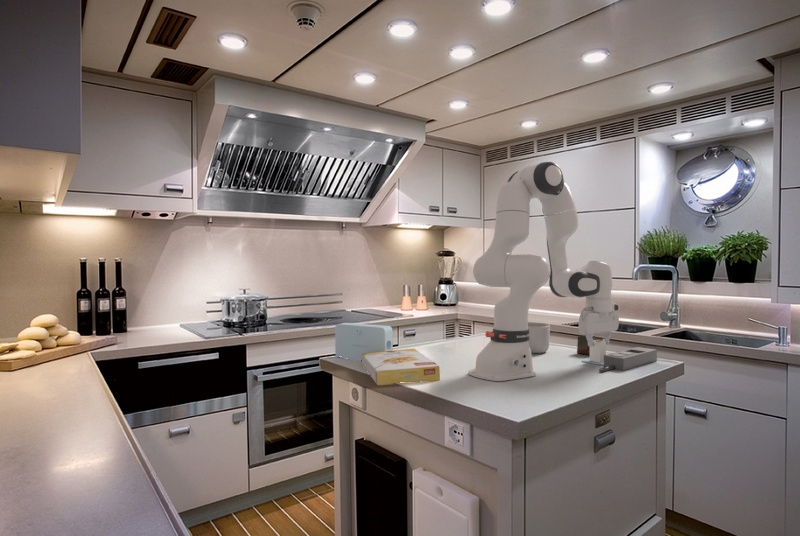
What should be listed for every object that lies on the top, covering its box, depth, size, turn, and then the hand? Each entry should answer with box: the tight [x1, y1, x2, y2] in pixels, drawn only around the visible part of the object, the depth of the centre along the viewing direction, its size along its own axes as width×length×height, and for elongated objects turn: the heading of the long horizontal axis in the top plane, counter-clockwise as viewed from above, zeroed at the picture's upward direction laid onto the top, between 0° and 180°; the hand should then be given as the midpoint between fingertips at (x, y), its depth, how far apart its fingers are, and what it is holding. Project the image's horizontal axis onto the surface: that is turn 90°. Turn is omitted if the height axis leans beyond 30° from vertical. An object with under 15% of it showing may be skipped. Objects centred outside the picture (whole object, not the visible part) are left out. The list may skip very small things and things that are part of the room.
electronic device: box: [576, 335, 597, 356], centre depth 188 cm, size 4×10×8 cm, turn 44°
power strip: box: [598, 346, 658, 373], centre depth 169 cm, size 33×7×4 cm, turn 128°
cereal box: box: [361, 348, 441, 386], centre depth 162 cm, size 20×6×28 cm
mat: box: [581, 358, 604, 366], centre depth 175 cm, size 8×8×1 cm
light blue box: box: [334, 322, 394, 361], centre depth 183 cm, size 23×6×13 cm, turn 58°
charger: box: [589, 339, 607, 362], centre depth 175 cm, size 4×4×7 cm
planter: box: [528, 322, 551, 354], centre depth 195 cm, size 12×12×11 cm
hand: (598, 345), depth 173 cm, fingers open, 8 cm apart
